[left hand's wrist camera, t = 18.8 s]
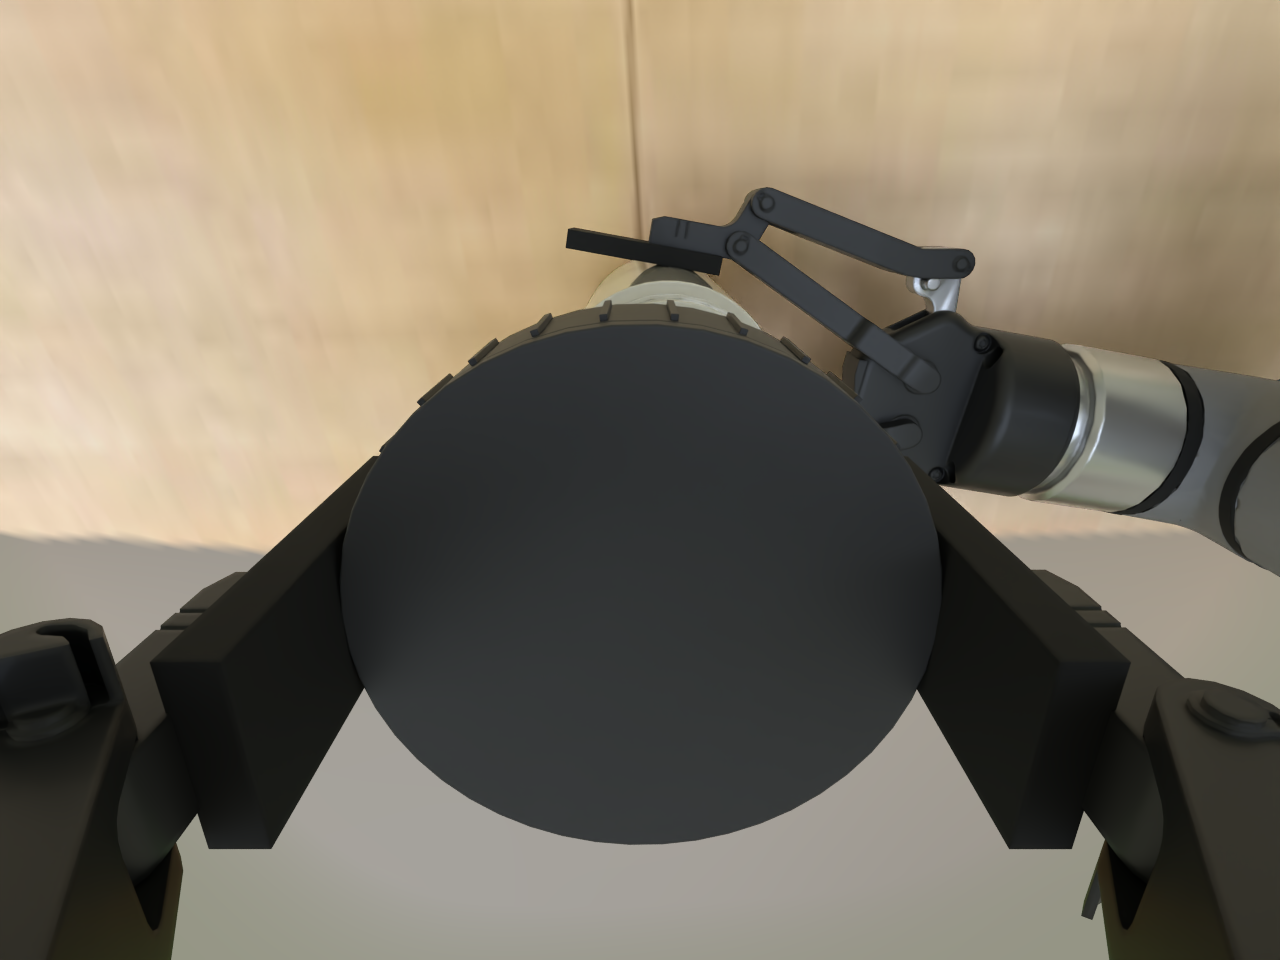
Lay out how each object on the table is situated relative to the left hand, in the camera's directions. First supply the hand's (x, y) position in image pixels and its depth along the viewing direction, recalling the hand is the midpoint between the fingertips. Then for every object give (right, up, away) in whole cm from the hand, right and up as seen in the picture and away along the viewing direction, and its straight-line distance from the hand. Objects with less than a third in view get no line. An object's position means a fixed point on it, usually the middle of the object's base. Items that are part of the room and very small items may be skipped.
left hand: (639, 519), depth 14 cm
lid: (0, -1, -3) cm, 3 cm away
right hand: (-4, +7, +17) cm, 19 cm away
